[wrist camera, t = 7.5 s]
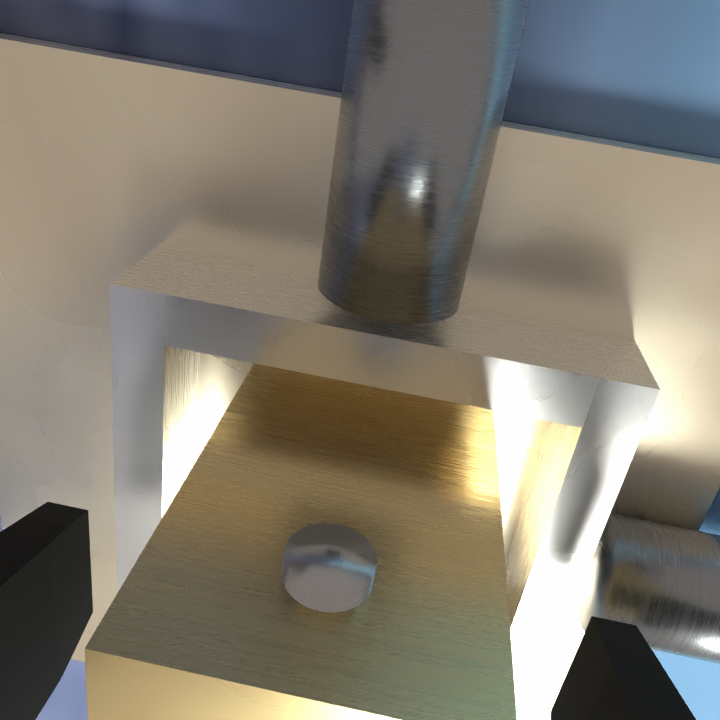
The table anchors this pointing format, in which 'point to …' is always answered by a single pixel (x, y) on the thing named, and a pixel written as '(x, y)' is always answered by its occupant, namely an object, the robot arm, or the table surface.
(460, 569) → the coupling block
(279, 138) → the cream square socket base
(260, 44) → the table surface
